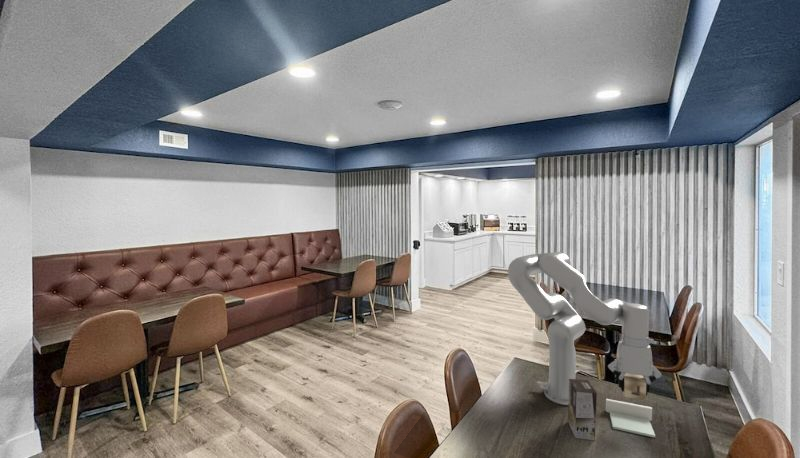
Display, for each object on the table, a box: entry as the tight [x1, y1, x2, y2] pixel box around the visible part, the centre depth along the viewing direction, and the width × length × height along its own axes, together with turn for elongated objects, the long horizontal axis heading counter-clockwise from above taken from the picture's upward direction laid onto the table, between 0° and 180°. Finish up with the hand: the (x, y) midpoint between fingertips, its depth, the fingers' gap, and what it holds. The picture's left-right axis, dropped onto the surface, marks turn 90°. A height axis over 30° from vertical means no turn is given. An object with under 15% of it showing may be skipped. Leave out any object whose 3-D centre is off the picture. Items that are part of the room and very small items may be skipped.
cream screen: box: [605, 398, 653, 422], centre depth 127 cm, size 14×1×4 cm, turn 66°
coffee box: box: [567, 378, 598, 441], centre depth 119 cm, size 9×6×16 cm
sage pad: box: [609, 412, 656, 438], centre depth 122 cm, size 12×9×1 cm
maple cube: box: [622, 373, 647, 402], centre depth 121 cm, size 6×6×6 cm
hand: (633, 391), depth 121 cm, fingers closed on maple cube, 6 cm apart
